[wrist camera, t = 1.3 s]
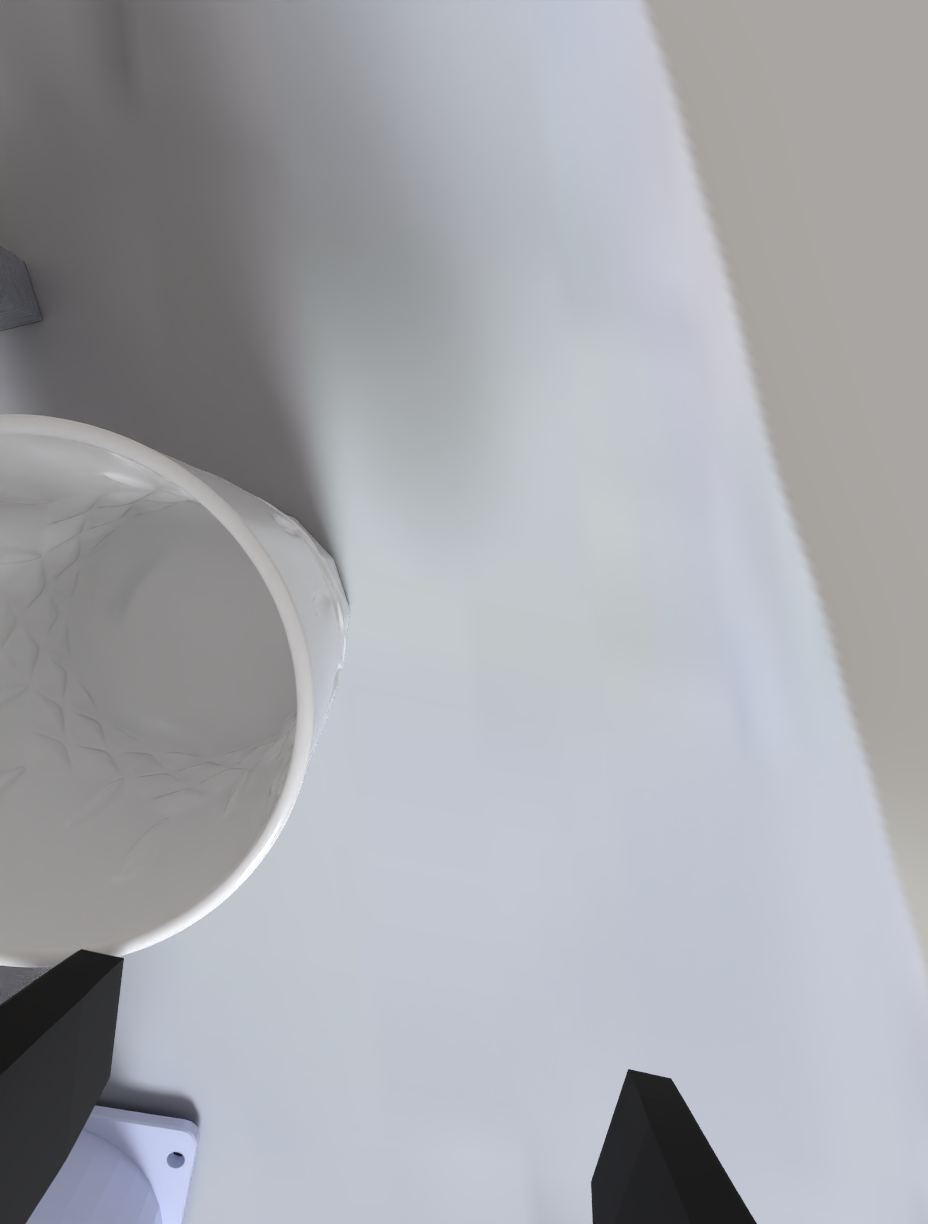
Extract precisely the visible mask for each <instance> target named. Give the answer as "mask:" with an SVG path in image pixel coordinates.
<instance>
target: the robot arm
mask: <svg viewBox="0 0 928 1224" xmlns="http://www.w3.org/2000/svg"><path fill="white" fill-rule="evenodd" d="M123 961H124V958H120V957H116V956H111V955H107V954H102V953H98V952H93V951H88V950H84V949H80V950H79V951H77V952H75V953H74V954H72V955H71V956H69V957H68V958H66V959H65V960H63V961H62V962H61V963H59V964H58V965H56V966H55V967H53V968H52V969H51V970H49V971H48V972H46V973H45V974H44V975H42V976H41V977H39V978H38V979H36V980H35V981H34V982H32V983H31V984H29V985H28V986H27V987H25V988H24V989H22V990H21V991H19V992H18V993H17V994H15V995H14V996H12V997H11V998H10V999H8V1000H7V1001H5V1002H4V1003H2V1004H1V1005H0V1224H183V1219H184V1214H185V1209H186V1204H187V1199H188V1194H189V1189H190V1184H191V1179H192V1173H193V1168H194V1163H195V1158H196V1153H197V1148H198V1143H199V1138H200V1132H199V1129H198V1127H197V1126H196V1125H195V1124H194V1123H193V1122H191V1121H188V1120H185V1119H179V1118H172V1117H166V1116H159V1115H153V1114H147V1113H140V1112H134V1111H127V1110H121V1109H115V1108H108V1107H102V1106H95V1104H96V1102H97V1101H98V1099H99V1097H100V1095H101V1093H102V1091H103V1089H104V1087H105V1085H106V1083H107V1081H108V1079H109V1077H110V1071H111V1063H112V1054H113V1046H114V1037H115V1029H116V1020H117V1012H118V1003H119V995H120V986H121V978H122V969H123ZM173 1152H179V1153H181V1154H182V1155H183V1156H177V1155H174V1153H173ZM591 1189H592V1214H593V1224H757V1223H756V1222H755V1220H754V1218H753V1217H752V1215H751V1213H750V1212H749V1210H748V1209H747V1207H746V1205H745V1204H744V1202H743V1200H742V1199H741V1197H740V1195H739V1194H738V1192H737V1190H736V1189H735V1187H734V1185H733V1183H732V1182H731V1180H730V1178H729V1177H728V1175H727V1173H726V1172H725V1170H724V1168H723V1166H722V1165H721V1163H720V1161H719V1160H718V1158H717V1156H716V1155H715V1153H714V1151H713V1149H712V1148H711V1146H710V1144H709V1142H708V1141H707V1139H706V1137H705V1136H704V1134H703V1132H702V1130H701V1129H700V1127H699V1125H698V1123H697V1122H696V1120H695V1118H694V1117H693V1115H692V1113H691V1111H690V1110H689V1108H688V1106H687V1105H686V1103H685V1101H684V1099H683V1098H682V1096H681V1094H680V1093H679V1091H678V1089H677V1088H676V1086H675V1084H674V1083H673V1081H672V1079H671V1078H666V1077H662V1076H657V1075H652V1074H648V1073H643V1072H639V1071H634V1070H630V1069H628V1072H627V1075H626V1078H625V1081H624V1084H623V1087H622V1090H621V1093H620V1096H619V1099H618V1102H617V1105H616V1108H615V1111H614V1114H613V1117H612V1120H611V1123H610V1126H609V1129H608V1132H607V1135H606V1138H605V1142H604V1145H603V1148H602V1151H601V1154H600V1157H599V1160H598V1163H597V1166H596V1169H595V1172H594V1175H593V1178H592V1181H591Z"/></svg>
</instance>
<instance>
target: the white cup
mask: <svg viewBox="0 0 928 1224" xmlns="http://www.w3.org/2000/svg"><path fill="white" fill-rule="evenodd" d="M349 618H350V609H349V605H348V602H347V599H346V596H345V593H344V590H343V587H342V584H341V580H340V577H339V574H338V571H337V568H336V565H335V562H334V559H333V558H332V557H331V556H330V555H329V554H328V553H327V552H326V550H325V549H324V548H323V547H322V546H321V545H320V544H319V543H318V542H317V541H316V540H315V539H314V538H313V537H312V536H311V534H310V533H309V532H308V531H307V530H306V529H305V528H304V527H303V526H302V525H301V524H300V523H299V522H298V521H297V520H296V519H295V518H293V517H291V516H289V515H286V514H284V513H282V512H281V511H280V510H278V509H277V508H276V507H274V506H273V505H271V504H269V503H268V502H266V501H264V500H263V499H261V498H259V497H257V496H255V495H253V494H251V493H249V492H247V491H245V490H244V489H242V488H240V487H238V486H236V485H235V484H233V483H231V482H229V481H227V480H225V479H223V478H221V477H219V476H216V475H213V474H211V473H209V472H206V471H203V470H200V469H198V468H195V467H193V466H191V465H188V464H186V463H184V462H182V461H180V460H177V459H175V458H173V457H171V456H168V455H166V454H164V453H161V452H159V451H157V450H154V449H152V448H150V447H148V446H145V445H143V444H141V443H139V442H137V441H134V440H132V439H130V438H127V437H125V436H122V435H120V434H117V433H114V432H112V431H109V430H106V429H103V428H99V427H96V426H93V425H89V424H85V423H81V422H77V421H73V420H68V419H62V418H57V417H50V416H42V415H31V414H0V965H2V966H12V967H30V968H47V967H55V966H56V965H58V964H59V963H61V962H62V961H63V960H65V959H66V958H68V957H69V956H71V955H72V954H74V953H75V952H77V951H79V950H80V949H84V950H88V951H93V952H98V953H102V954H107V955H111V956H116V957H119V956H123V955H126V954H129V953H132V952H135V951H138V950H141V949H143V948H146V947H149V946H151V945H153V944H156V943H158V942H160V941H162V940H164V939H167V938H169V937H170V936H172V935H174V934H176V933H178V932H180V931H182V930H183V929H185V928H187V927H188V926H190V925H192V924H193V923H195V922H196V921H198V920H199V919H201V918H202V917H204V916H205V915H207V914H208V913H209V912H211V911H212V910H213V909H215V908H216V907H217V906H218V905H220V904H221V903H222V902H223V901H224V900H226V899H227V898H228V897H229V896H230V895H231V894H232V893H233V892H234V891H235V890H236V889H237V888H238V887H239V886H240V885H241V884H242V883H243V882H244V881H245V880H246V879H247V878H248V877H249V876H250V875H251V874H252V872H253V871H254V870H255V869H256V868H257V866H258V865H259V864H260V863H261V861H262V860H263V859H264V857H265V856H266V854H267V853H268V852H269V850H270V849H271V847H272V846H273V844H274V843H275V841H276V840H277V838H278V836H279V834H280V833H281V831H282V829H283V827H284V826H285V824H286V822H287V820H288V818H289V816H290V814H291V812H292V809H293V807H294V805H295V802H296V800H297V797H298V795H299V792H300V789H301V786H302V784H303V781H304V778H305V775H306V773H307V770H308V767H309V764H310V762H311V759H312V756H313V754H314V751H315V749H316V746H317V744H318V741H319V738H320V736H321V733H322V731H323V728H324V726H325V723H326V721H327V718H328V715H329V713H330V710H331V707H332V704H333V701H334V698H335V694H336V691H337V687H338V683H339V679H340V676H341V672H342V668H343V664H344V659H345V651H346V638H347V631H348V624H349Z"/></svg>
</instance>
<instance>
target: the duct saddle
mask: <svg viewBox="0 0 928 1224" xmlns="http://www.w3.org/2000/svg"><path fill="white" fill-rule="evenodd" d="M41 320H42V317H41V313H40V310H39V307H38V304H37V301H36V297H35V294H34V291H33V288H32V285H31V281H30V278H29V275H28V272H27V269H26V265H25V262H23V261H22V260H21V259H19V258H18V257H16V256H15V255H13V254H12V253H10V252H9V251H7V250H6V249H4V248H3V247H1V246H0V331H1V330H5V329H9V328H13V327H17V326H21V325H25V324H29V323H33V322H37V321H41Z"/></svg>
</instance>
